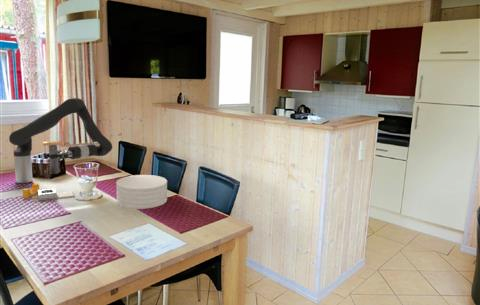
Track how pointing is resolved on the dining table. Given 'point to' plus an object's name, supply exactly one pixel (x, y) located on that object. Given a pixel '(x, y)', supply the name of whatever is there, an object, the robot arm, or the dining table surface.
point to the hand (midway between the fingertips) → (48, 156)
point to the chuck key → (52, 151)
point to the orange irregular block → (30, 191)
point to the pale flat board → (36, 199)
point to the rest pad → (65, 194)
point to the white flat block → (47, 194)
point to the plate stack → (141, 191)
